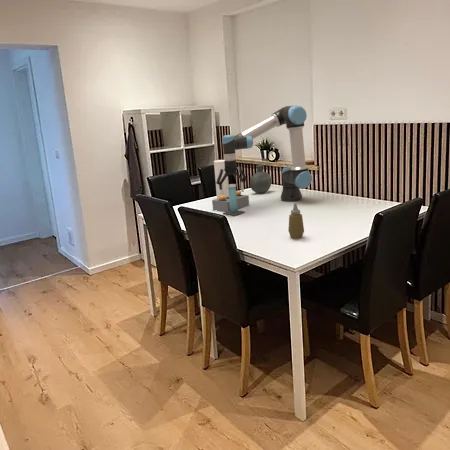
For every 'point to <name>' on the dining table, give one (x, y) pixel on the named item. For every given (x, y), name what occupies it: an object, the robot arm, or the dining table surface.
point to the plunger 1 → (222, 197)
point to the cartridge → (232, 198)
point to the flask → (260, 181)
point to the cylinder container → (217, 166)
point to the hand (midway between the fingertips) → (232, 193)
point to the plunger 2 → (238, 193)
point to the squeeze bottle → (295, 223)
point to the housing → (225, 205)
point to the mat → (234, 213)
